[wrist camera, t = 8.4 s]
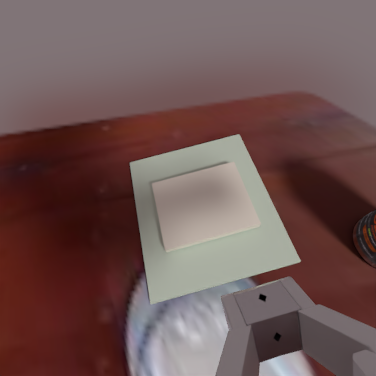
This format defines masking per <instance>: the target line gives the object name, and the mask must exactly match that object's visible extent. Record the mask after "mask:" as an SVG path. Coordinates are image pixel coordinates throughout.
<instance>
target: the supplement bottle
mask: <svg viewBox="0 0 376 376" xmlns="http://www.w3.org/2000/svg"><path fill="white" fill-rule="evenodd" d="M353 241H354V244H355V247H356V249H357V251H358V252H359V254H360V255H361V256H362V258H364V260H365V261H366V262H368V263H369V264H370V265H371V266H373V267H375V268H376V210H374V211H373V212H371V213H369V214H368V215H366V216H364V217H363V218H362V219H360V220H359V221H358V222H357V223H356V225H355V227H354V230H353Z"/></svg>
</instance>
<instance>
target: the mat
mask: <svg viewBox="0 0 376 376" xmlns="http://www.w3.org/2000/svg"><path fill="white" fill-rule="evenodd" d="M231 162H234V163H235V165H236V167H237V169H238V172H239V174H240V176H241V179H242V181H243V183H244V186H245V188H246V190H247V192H248V195H249V197H250V199H251V202H252V204H253V206H254V209H255V211H256V213H257V216H258V218H259V220H260V222H261V225H260V227H258V228H254V229H250V230H247V231H243V232H239V233H236V234H232V235H229V236H225V237H221V238H218V239H214V240H210V241H207V242H203V243H200V244H196V245H192V246H189V247H185V248H182V249H178V250H174V251H171V252H166V251H165V248H164V242H163V237H162V232H161V227H160V222H159V217H158V212H157V207H156V202H155V197H154V192H153V187H152V183H155V182H159V181H163V180H166V179H170V178H174V177H178V176H181V175H185V174H189V173H193V172H197V171H200V170H204V169H208V168H212V167H215V166H219V165H223V164H227V163H231ZM130 169H131V176H132V183H133V190H134V196H135V203H136V210H137V217H138V223H139V230H140V237H141V244H142V251H143V257H144V264H145V271H146V278H147V284H148V291H149V298H150V304H155V303H158V302H162V301H165V300H169V299H172V298H176V297H179V296H183V295H186V294H190V293H193V292H197V291H200V290H204V289H207V288H211V287H214V286H218V285H222V284H225V283H229V282H232V281H236V280H239V279H243V278H246V277H250V276H253V275H257V274H260V273H264V272H267V271H271V270H274V269H278V268H282V267H285V266H289V265H292V264H296V263H299V262H301V261H300V259H299V257H298V255H297V252H296V250H295V248H294V246H293V244H292V242H291V240H290V238H289V236H288V234H287V232H286V230H285V228H284V226H283V224H282V221H281V219H280V217H279V215H278V213H277V211H276V209H275V207H274V205H273V203H272V201H271V199H270V197H269V195H268V193H267V190H266V188H265V186H264V184H263V182H262V180H261V178H260V176H259V174H258V172H257V170H256V168H255V166H254V164H253V162H252V159H251V157H250V155H249V153H248V151H247V149H246V147H245V145H244V143H243V141H242V139H241V137H240V135H239V134H237V135H234V136H230V137H226V138H222V139H218V140H214V141H211V142H207V143H203V144H199V145H195V146H191V147H188V148H184V149H180V150H176V151H172V152H168V153H164V154H161V155H157V156H153V157H149V158H145V159H141V160H138V161H134V162H130Z"/></svg>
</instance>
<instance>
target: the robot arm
mask: <svg viewBox="0 0 376 376" xmlns="http://www.w3.org/2000/svg"><path fill="white" fill-rule="evenodd" d="M221 301H222V305H223V309H224V313H225V317H226V321H227V324H228V328H229V331H228V335H227V338H226V342H225V345H224V348H223V352H222V355H221V358H220V362H219V365H218V369H217V372H216V375H215V376H259V366H260V364H259V363H260V362H263V361H266V360H269V359H272V358H275V357H278V356H281V355H285V354H288V353H292V352H296V351H300V350H303V351H304V352H305V353H307V354H308V355H309V356H311V357H312V358H314V359H315V360H316V361H318V362H319V363H320V364H322V365H323V366H324V367H326V368H327V369H328V370H330V371H331V372H332V373H334V374H335V375H337V376H376V329H375V328H373V327H370V326H368V325H366V324H363V323H361V322H359V321H357V320H354V319H352V318H350V317H347V316H345V315H343V314H341V313H338V312H336V311H334V310H331V309H329V308H327V307H325V306H322V305H320V304H319V305H315V304H314V303H313V301H312V300H311V299H310V298H309V297H308V296H307V295H306V293H305V292H304V291H303V290H302V289H301V288H300V287H299V285H298V284H297V283H296V282H295V281H294V280H293V279H292V278H291V277H286V278H282V279H279V280H276V281H273V282H270V283H266V284H263V285H260V286H256V287H253V288H249V289H245V290H241V291H238V292H234V293H233V294H232V293H231V294H227V295H223V296H221Z"/></svg>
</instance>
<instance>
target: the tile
mask: <svg viewBox="0 0 376 376" xmlns="http://www.w3.org/2000/svg"><path fill="white" fill-rule="evenodd" d="M152 187H153V192H154V197H155V202H156V207H157V212H158V217H159V222H160V227H161V232H162V237H163V242H164V248H165V251H166V252H171V251H174V250H178V249H182V248H185V247H189V246H192V245H196V244H200V243H203V242H207V241H210V240H214V239H218V238H221V237H225V236H229V235H232V234H236V233H239V232H243V231H247V230H250V229H254V228H258V227H260V225H261V222H260V220H259V218H258V216H257V213H256V211H255V209H254V206H253V204H252V202H251V199H250V197H249V195H248V192H247V190H246V188H245V186H244V183H243V181H242V179H241V176H240V174H239V172H238V169H237V167H236V165H235V163H234V162H231V163H227V164H223V165H219V166H215V167H212V168H208V169H204V170H200V171H197V172H193V173H189V174H185V175H181V176H178V177H174V178H170V179H166V180H163V181H159V182H155V183H152Z"/></svg>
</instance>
